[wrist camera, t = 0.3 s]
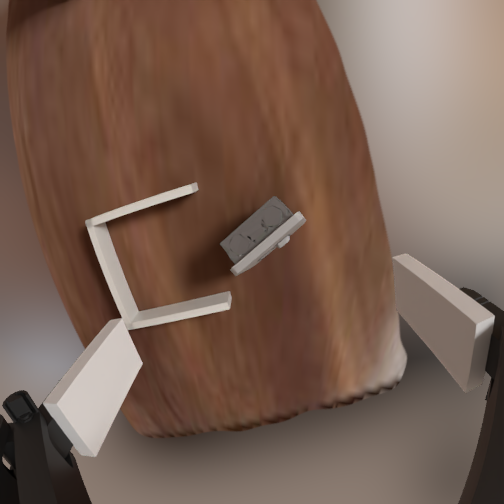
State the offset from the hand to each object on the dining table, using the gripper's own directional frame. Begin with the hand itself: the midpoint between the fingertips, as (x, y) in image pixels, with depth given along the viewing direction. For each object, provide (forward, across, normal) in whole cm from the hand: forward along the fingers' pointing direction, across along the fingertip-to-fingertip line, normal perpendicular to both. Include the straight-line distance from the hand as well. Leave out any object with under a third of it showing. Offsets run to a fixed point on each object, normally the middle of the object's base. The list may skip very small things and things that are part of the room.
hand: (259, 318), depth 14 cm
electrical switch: (+27, 0, -2) cm, 27 cm away
